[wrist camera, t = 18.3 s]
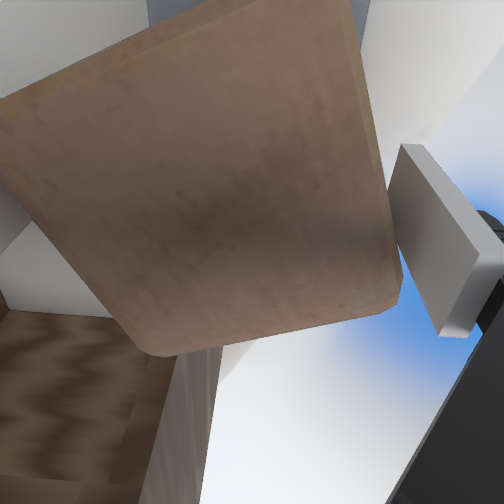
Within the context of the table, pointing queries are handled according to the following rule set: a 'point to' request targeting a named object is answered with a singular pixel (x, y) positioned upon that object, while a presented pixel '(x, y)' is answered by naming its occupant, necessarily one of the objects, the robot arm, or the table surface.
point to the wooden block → (213, 175)
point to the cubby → (99, 414)
